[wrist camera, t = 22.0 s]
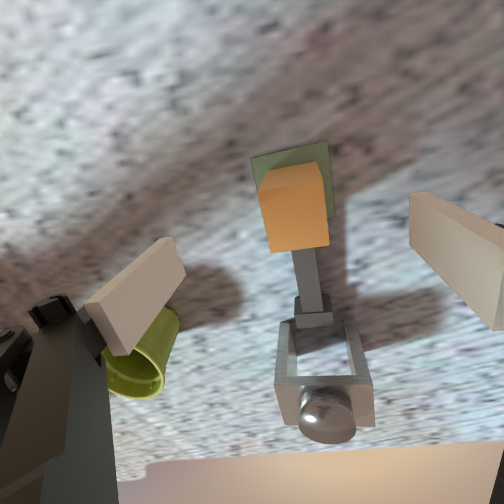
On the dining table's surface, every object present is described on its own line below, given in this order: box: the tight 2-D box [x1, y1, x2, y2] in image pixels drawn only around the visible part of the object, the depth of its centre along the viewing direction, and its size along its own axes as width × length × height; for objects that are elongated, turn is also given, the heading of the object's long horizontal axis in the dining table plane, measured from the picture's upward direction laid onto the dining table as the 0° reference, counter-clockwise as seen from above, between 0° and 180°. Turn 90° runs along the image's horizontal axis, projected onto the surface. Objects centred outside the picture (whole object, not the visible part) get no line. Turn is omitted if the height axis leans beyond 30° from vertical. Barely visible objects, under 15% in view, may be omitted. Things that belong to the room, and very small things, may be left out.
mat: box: [251, 141, 335, 218], centre depth 25 cm, size 7×7×1 cm
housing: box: [274, 317, 375, 444], centre depth 28 cm, size 9×6×11 cm
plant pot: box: [101, 306, 180, 400], centre depth 33 cm, size 9×9×9 cm
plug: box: [257, 161, 334, 329], centre depth 25 cm, size 4×17×7 cm, turn 13°
